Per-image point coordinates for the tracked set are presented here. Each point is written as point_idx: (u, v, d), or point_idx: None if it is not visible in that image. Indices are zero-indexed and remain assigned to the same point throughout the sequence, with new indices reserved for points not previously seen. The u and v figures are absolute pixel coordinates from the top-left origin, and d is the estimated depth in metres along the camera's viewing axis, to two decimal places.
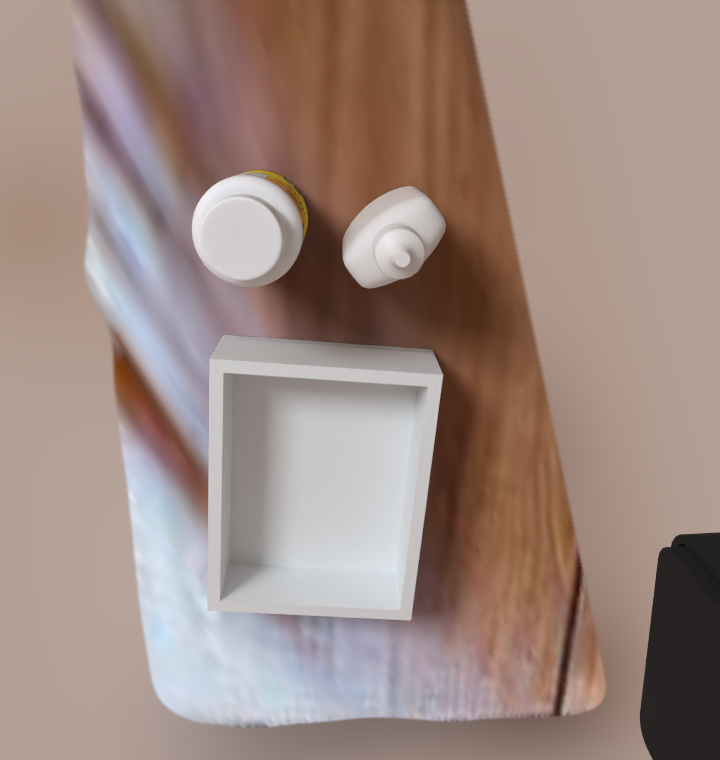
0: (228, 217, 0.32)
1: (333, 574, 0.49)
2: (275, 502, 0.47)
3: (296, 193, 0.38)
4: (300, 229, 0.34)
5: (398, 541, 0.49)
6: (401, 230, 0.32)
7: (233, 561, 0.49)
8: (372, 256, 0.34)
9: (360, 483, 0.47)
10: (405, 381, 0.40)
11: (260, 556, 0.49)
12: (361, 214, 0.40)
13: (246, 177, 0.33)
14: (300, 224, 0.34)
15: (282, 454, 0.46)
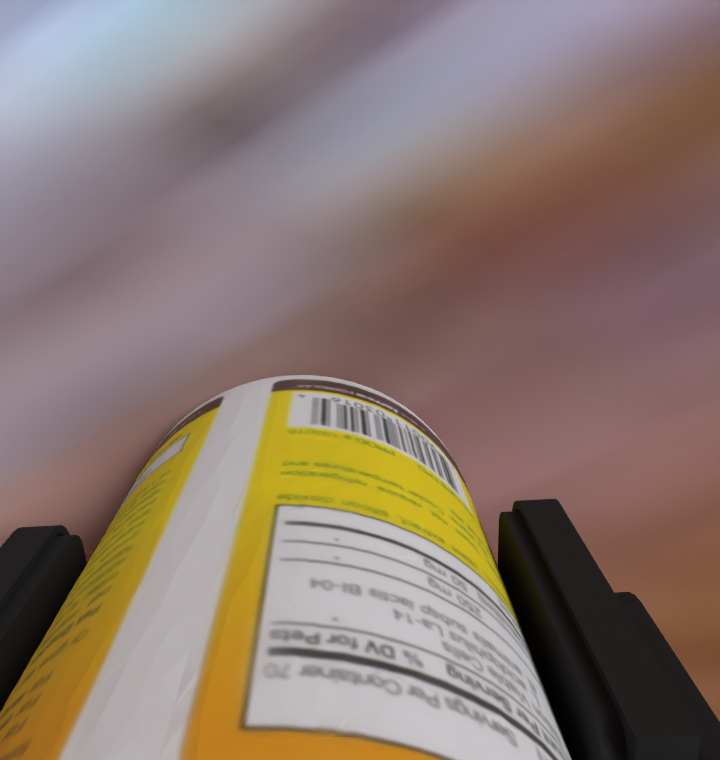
0: None
1: None
2: None
3: None
4: None
5: None
6: None
7: None
8: None
9: None
10: None
11: None
12: None
13: None
14: None
15: None
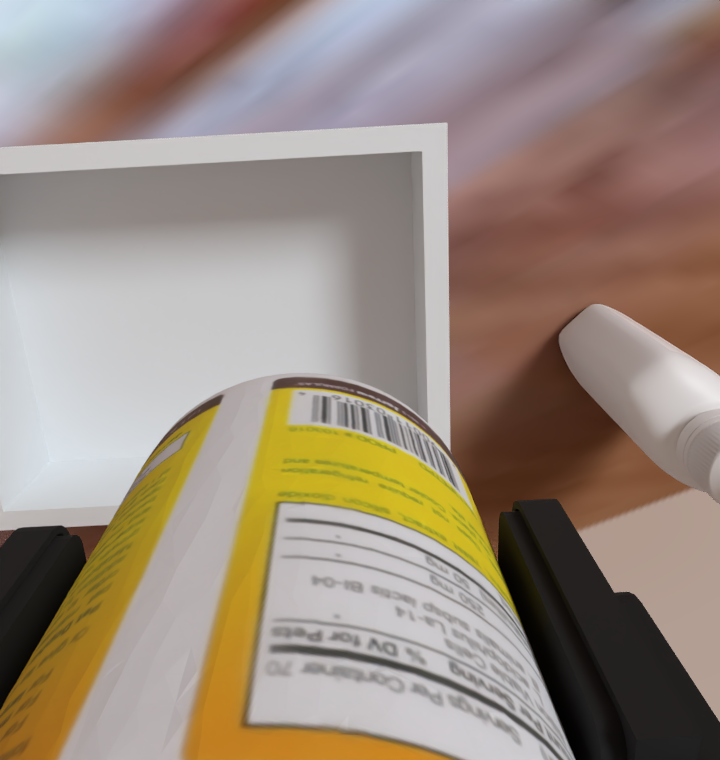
0: None
1: (20, 368, 0.27)
2: (136, 248, 0.27)
3: None
4: None
5: (109, 458, 0.29)
6: None
7: None
8: (695, 406, 0.21)
9: (203, 384, 0.28)
10: None
11: (16, 231, 0.26)
12: None
13: None
14: None
15: (232, 251, 0.27)
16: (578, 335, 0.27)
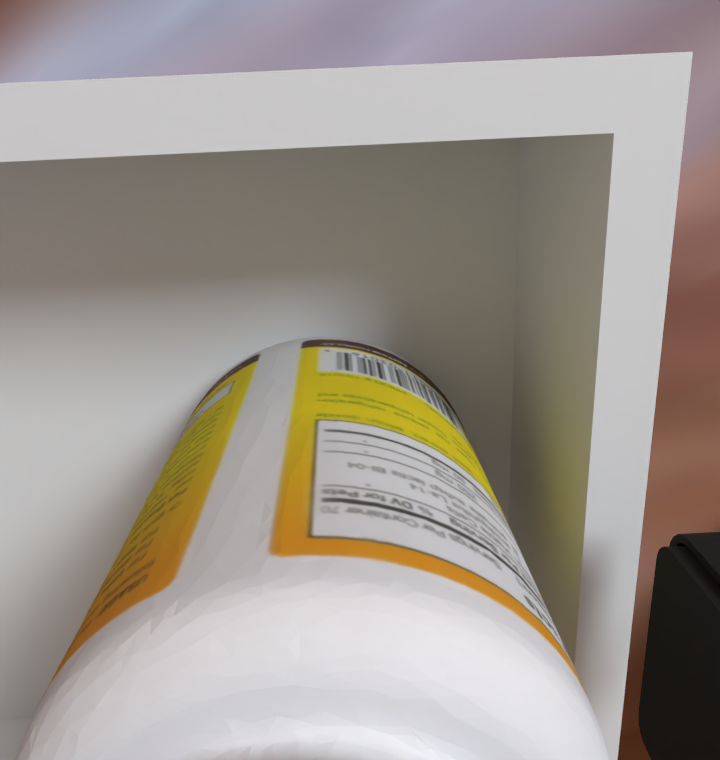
0: None
1: None
2: None
3: None
4: None
5: None
6: None
7: None
8: None
9: (88, 597, 0.14)
10: None
11: None
12: None
13: None
14: None
15: (136, 348, 0.13)
16: None
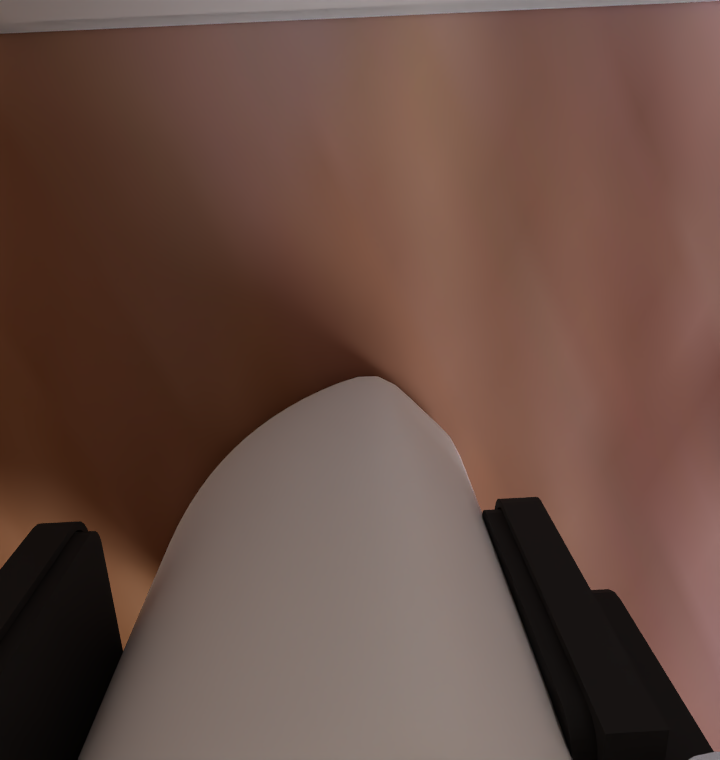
0: None
1: None
2: None
3: None
4: None
5: None
6: None
7: None
8: None
9: None
10: None
11: None
12: None
13: None
14: None
15: None
16: (415, 430, 0.09)
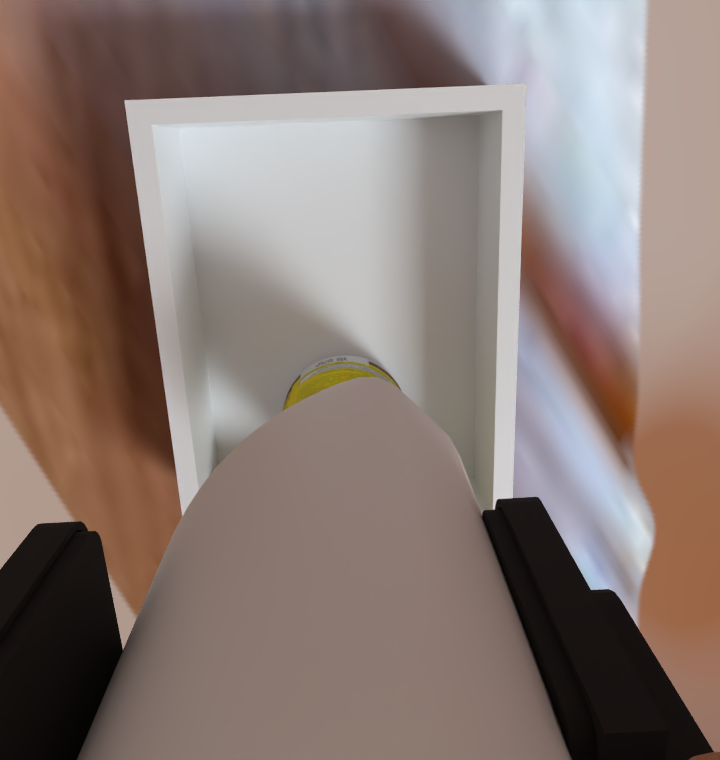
0: None
1: (291, 123, 0.27)
2: (404, 249, 0.29)
3: None
4: None
5: (188, 196, 0.28)
6: None
7: (472, 120, 0.27)
8: None
9: (272, 299, 0.29)
10: None
11: (424, 137, 0.28)
12: None
13: None
14: None
15: (398, 335, 0.30)
16: (415, 431, 0.09)
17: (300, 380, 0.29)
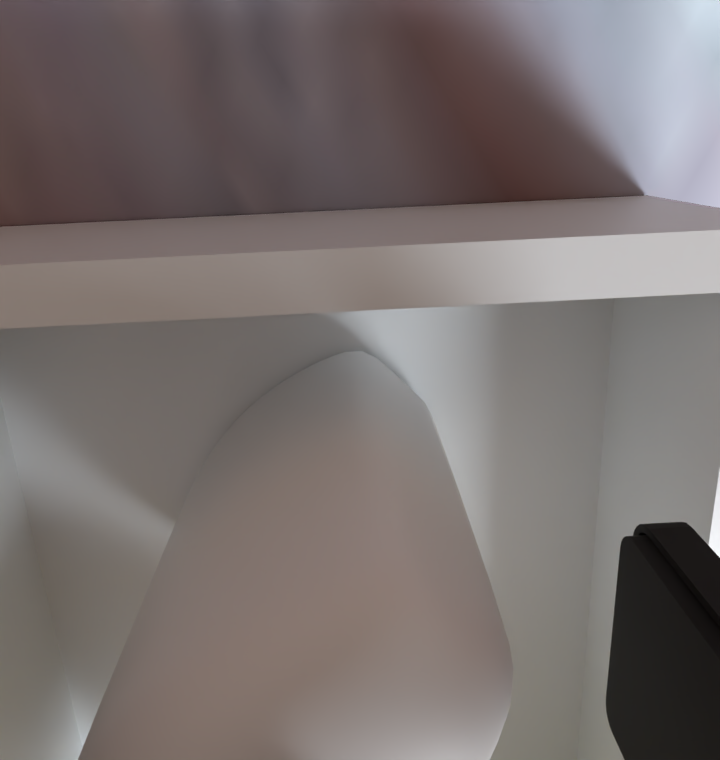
0: None
1: None
2: None
3: None
4: None
5: (4, 410, 0.13)
6: None
7: None
8: None
9: None
10: None
11: None
12: None
13: None
14: None
15: None
16: (391, 392, 0.11)
17: None
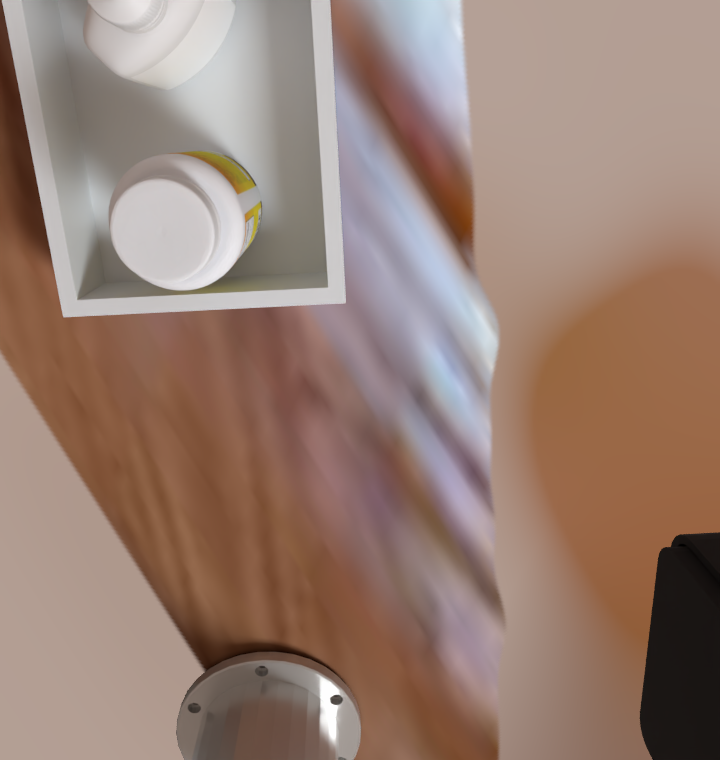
0: (181, 258, 0.26)
1: None
2: (252, 52, 0.33)
3: None
4: None
5: (58, 1, 0.32)
6: (124, 21, 0.23)
7: None
8: None
9: (139, 100, 0.34)
10: (106, 303, 0.33)
11: None
12: (214, 42, 0.31)
13: (186, 289, 0.29)
14: None
15: (253, 134, 0.34)
16: None
17: None
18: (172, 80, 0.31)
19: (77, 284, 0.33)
